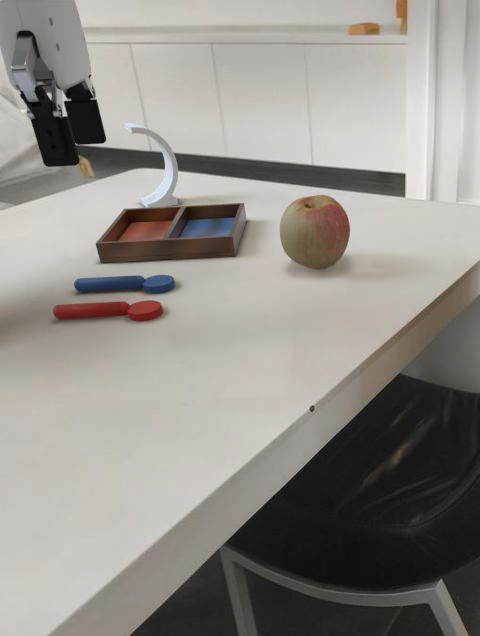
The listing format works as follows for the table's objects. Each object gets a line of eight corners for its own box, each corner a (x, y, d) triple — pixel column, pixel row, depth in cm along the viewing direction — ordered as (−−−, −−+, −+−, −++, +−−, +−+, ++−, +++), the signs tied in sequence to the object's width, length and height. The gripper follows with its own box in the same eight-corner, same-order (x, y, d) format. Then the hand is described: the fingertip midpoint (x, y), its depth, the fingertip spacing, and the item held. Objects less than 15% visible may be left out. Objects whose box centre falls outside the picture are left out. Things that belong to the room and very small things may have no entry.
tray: (100, 263, 91) (95, 243, 90) (128, 226, 104) (123, 208, 102) (235, 256, 91) (232, 236, 90) (246, 220, 104) (244, 202, 102)
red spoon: (60, 312, 78) (56, 298, 77) (165, 306, 78) (162, 293, 77) (50, 326, 75) (45, 312, 74) (159, 320, 75) (156, 306, 74)
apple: (342, 250, 92) (338, 187, 87) (358, 272, 85) (356, 205, 80) (278, 258, 90) (271, 194, 85) (289, 281, 83) (282, 213, 78)
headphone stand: (141, 203, 114) (123, 123, 107) (176, 197, 116) (161, 118, 109) (148, 209, 111) (130, 127, 103) (184, 203, 113) (169, 122, 106)
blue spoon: (80, 286, 85) (77, 273, 84) (177, 281, 85) (175, 268, 84) (71, 297, 82) (67, 284, 81) (172, 292, 82) (169, 279, 81)
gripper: (10, -63, 64) (66, 138, 74) (-75, -70, 50) (7, 177, 61) (91, -67, 64) (135, 134, 74) (27, -75, 50) (92, 173, 61)
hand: (77, 153), depth 68 cm, fingers open, 9 cm apart
